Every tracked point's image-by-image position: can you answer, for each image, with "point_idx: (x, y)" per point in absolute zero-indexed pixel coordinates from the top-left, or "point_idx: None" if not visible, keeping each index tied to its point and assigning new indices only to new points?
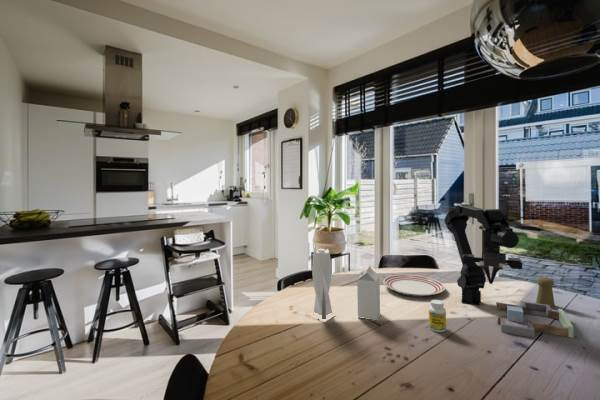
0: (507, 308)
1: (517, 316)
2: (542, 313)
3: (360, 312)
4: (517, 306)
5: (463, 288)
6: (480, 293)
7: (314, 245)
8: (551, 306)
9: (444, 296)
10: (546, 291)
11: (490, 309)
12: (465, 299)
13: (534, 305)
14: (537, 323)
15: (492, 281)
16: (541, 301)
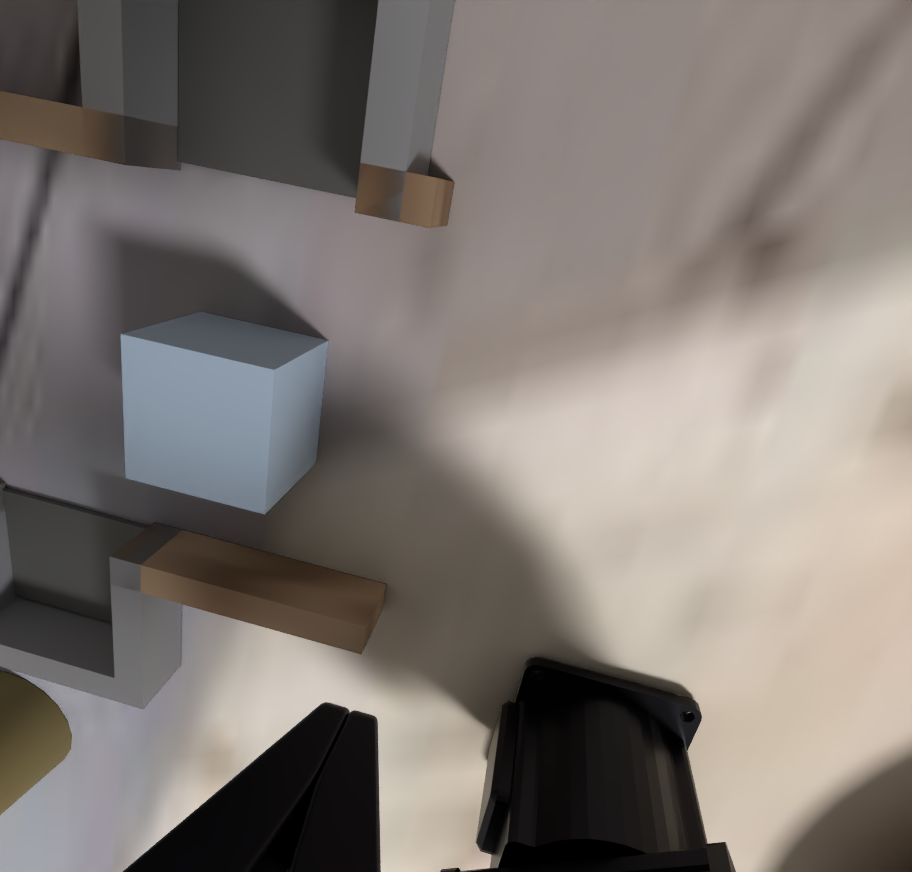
0: (276, 444)
1: (215, 334)
2: (36, 554)
3: None
4: (180, 576)
5: (728, 855)
6: (494, 790)
7: None
8: None
9: (839, 836)
10: None
11: (440, 578)
12: (658, 735)
13: (54, 645)
14: (33, 118)
15: (287, 746)
16: (2, 728)
